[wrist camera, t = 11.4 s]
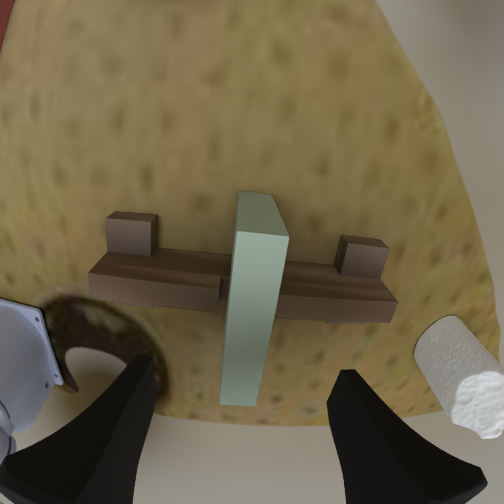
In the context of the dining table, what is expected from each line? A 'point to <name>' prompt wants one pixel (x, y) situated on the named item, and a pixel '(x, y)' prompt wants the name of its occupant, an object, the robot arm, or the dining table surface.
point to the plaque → (4, 16)
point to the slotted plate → (251, 296)
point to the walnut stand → (219, 270)
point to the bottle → (463, 376)
